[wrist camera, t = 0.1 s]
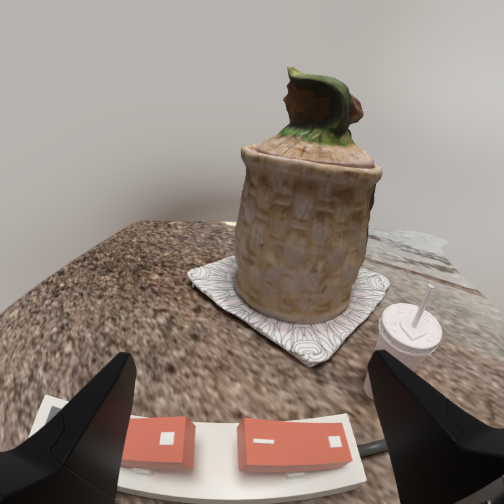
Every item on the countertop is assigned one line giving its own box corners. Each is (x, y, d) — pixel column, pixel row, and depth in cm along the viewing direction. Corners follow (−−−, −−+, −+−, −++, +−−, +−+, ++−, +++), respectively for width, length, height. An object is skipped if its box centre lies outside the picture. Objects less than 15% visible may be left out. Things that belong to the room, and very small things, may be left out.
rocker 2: (340, 468, 15) (353, 460, 15) (238, 471, 14) (247, 464, 13) (331, 431, 18) (342, 422, 18) (236, 427, 17) (244, 416, 16)
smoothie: (344, 401, 24) (393, 291, 18) (359, 360, 29) (398, 256, 23) (398, 417, 22) (467, 314, 15) (406, 375, 27) (458, 275, 20)
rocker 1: (193, 469, 13) (181, 461, 13) (101, 462, 14) (87, 453, 13) (195, 426, 17) (185, 415, 16) (109, 426, 17) (97, 416, 16)
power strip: (410, 470, 16) (432, 454, 14) (40, 464, 13) (17, 446, 11) (390, 416, 22) (406, 395, 20) (58, 410, 19) (41, 388, 18)
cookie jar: (317, 379, 27) (379, 34, 13) (182, 285, 42) (176, 62, 27) (391, 288, 44) (430, 97, 29) (282, 240, 58) (295, 83, 44)
